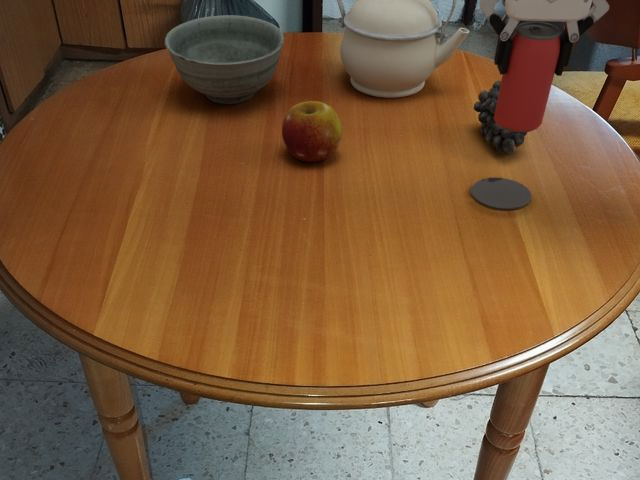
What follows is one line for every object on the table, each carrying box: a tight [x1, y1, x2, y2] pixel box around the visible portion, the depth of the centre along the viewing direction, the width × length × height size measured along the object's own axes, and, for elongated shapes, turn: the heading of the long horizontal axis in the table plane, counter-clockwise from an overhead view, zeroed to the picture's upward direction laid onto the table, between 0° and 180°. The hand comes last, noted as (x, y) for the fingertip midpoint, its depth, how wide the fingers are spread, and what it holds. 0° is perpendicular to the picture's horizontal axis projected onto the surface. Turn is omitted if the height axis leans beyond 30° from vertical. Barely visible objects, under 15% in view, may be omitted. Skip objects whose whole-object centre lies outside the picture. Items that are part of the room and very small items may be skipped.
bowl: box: [164, 14, 285, 105], centre depth 121 cm, size 21×21×10 cm
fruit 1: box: [281, 100, 343, 163], centre depth 107 cm, size 10×9×8 cm
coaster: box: [470, 177, 532, 211], centre depth 102 cm, size 9×9×1 cm
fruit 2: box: [473, 80, 528, 156], centre depth 111 cm, size 9×8×15 cm
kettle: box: [336, 0, 470, 99], centre depth 120 cm, size 25×18×25 cm
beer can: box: [494, 21, 562, 133], centre depth 90 cm, size 7×7×12 cm
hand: (529, 69), depth 89 cm, fingers closed on beer can, 6 cm apart
